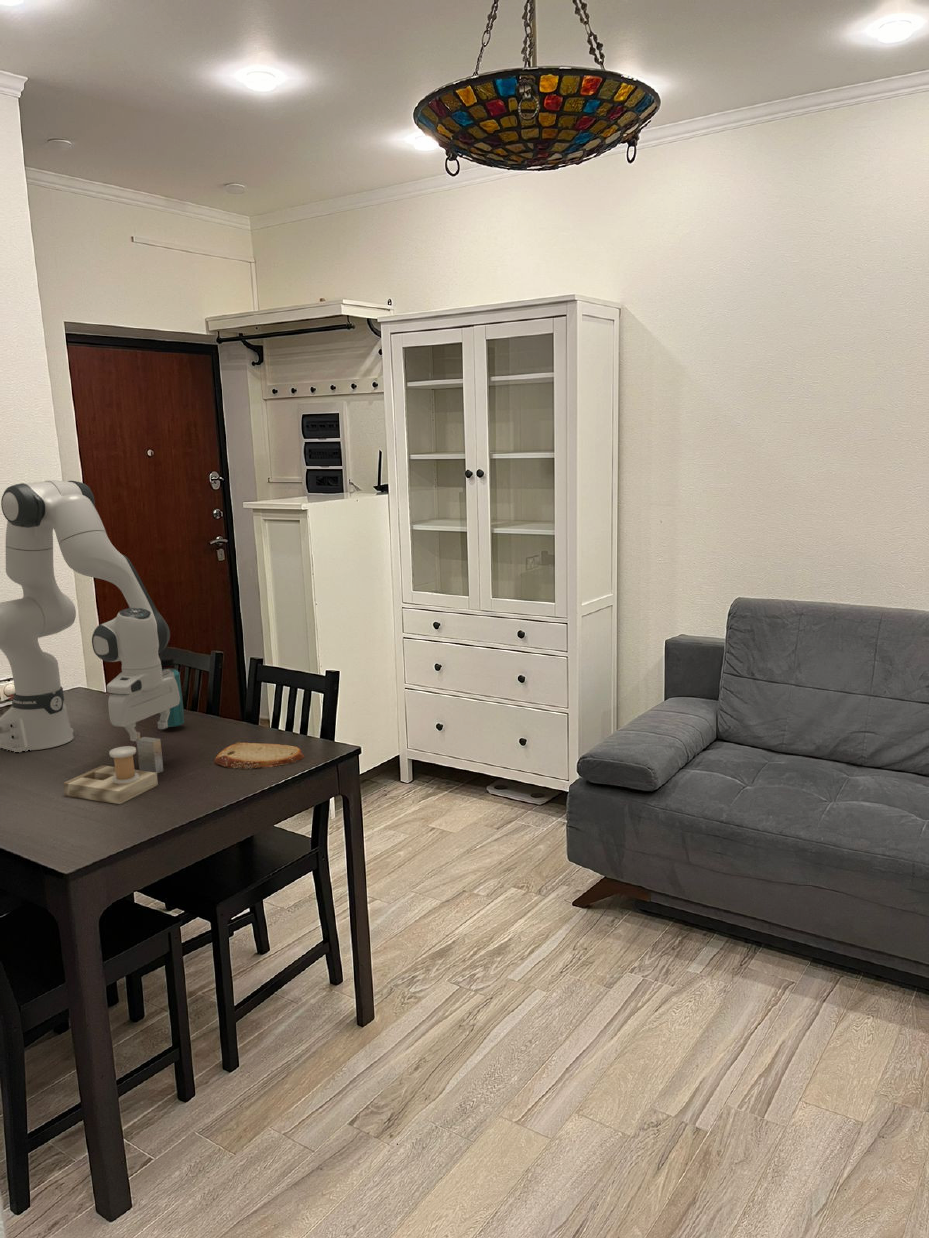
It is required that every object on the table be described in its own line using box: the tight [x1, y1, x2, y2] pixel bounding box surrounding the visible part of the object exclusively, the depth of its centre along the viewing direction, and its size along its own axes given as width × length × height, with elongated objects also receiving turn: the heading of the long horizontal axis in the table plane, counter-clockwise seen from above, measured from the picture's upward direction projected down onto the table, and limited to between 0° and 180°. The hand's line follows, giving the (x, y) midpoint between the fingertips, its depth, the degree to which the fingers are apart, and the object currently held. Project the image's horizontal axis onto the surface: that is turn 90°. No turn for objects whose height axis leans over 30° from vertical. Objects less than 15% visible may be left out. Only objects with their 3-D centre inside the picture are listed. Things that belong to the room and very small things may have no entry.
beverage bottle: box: [158, 656, 186, 728], centre depth 257 cm, size 6×7×20 cm
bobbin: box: [109, 745, 139, 785], centre depth 211 cm, size 6×6×7 cm
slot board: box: [63, 765, 159, 805], centre depth 214 cm, size 16×12×3 cm
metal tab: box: [136, 736, 164, 775], centre depth 225 cm, size 5×2×8 cm, turn 67°
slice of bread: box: [213, 741, 305, 770], centre depth 231 cm, size 18×18×4 cm
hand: (149, 734), depth 224 cm, fingers open, 8 cm apart
